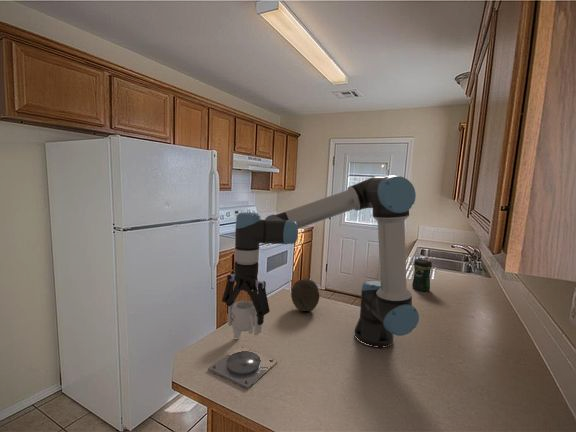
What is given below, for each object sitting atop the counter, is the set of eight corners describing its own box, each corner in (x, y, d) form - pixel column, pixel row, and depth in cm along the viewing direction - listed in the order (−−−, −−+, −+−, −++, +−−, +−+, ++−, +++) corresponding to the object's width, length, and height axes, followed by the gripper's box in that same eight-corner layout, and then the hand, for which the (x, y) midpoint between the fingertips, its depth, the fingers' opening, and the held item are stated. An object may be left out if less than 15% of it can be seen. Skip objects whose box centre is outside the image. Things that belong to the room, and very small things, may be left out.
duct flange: (277, 362, 99) (277, 357, 99) (247, 389, 86) (247, 383, 85) (240, 347, 107) (240, 342, 107) (207, 370, 94) (208, 364, 93)
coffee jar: (431, 290, 178) (434, 260, 176) (424, 292, 174) (427, 262, 172) (417, 285, 186) (419, 257, 184) (409, 287, 182) (412, 258, 180)
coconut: (325, 312, 140) (326, 282, 139) (301, 319, 132) (303, 287, 131) (306, 302, 152) (308, 274, 150) (284, 307, 144) (285, 278, 142)
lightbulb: (227, 336, 115) (228, 309, 114) (242, 333, 117) (243, 307, 116) (230, 344, 109) (231, 316, 108) (246, 341, 112) (247, 313, 111)
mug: (227, 324, 98) (228, 301, 97) (251, 319, 102) (252, 298, 101) (238, 341, 87) (239, 316, 87) (265, 336, 91) (266, 312, 91)
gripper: (283, 265, 90) (279, 334, 93) (227, 253, 102) (225, 315, 104) (269, 271, 84) (266, 344, 86) (211, 257, 95) (210, 323, 98)
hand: (244, 328), depth 95 cm, fingers closed on mug, 10 cm apart
